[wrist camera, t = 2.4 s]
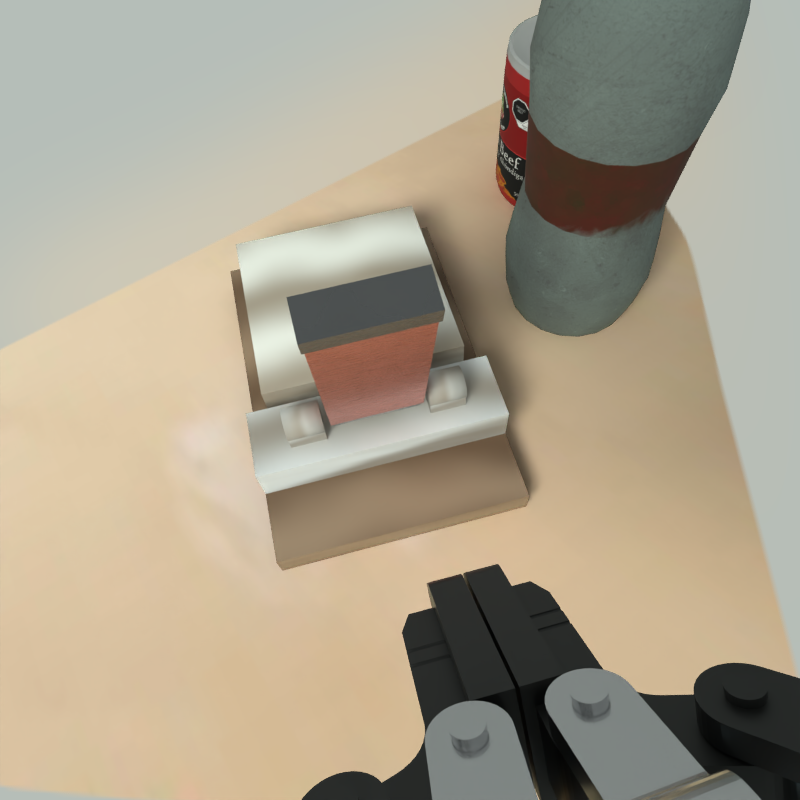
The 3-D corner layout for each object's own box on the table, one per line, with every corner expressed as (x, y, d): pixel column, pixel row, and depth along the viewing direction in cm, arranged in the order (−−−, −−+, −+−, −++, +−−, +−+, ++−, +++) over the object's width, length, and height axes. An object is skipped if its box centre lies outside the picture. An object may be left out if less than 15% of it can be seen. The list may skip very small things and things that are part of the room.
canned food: (492, 151, 52) (504, 10, 42) (593, 148, 51) (629, 5, 42) (496, 220, 48) (511, 82, 38) (606, 218, 47) (649, 78, 38)
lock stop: (424, 410, 35) (445, 309, 22) (331, 433, 35) (297, 344, 22) (416, 379, 36) (431, 264, 23) (324, 402, 35) (286, 297, 22)
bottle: (651, 340, 42) (998, -372, 16) (509, 350, 42) (625, -339, 16) (619, 234, 47) (847, -447, 21) (492, 243, 47) (559, -421, 21)
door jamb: (526, 506, 37) (540, 462, 31) (282, 570, 35) (256, 535, 30) (426, 242, 47) (425, 177, 42) (236, 285, 46) (211, 224, 41)
